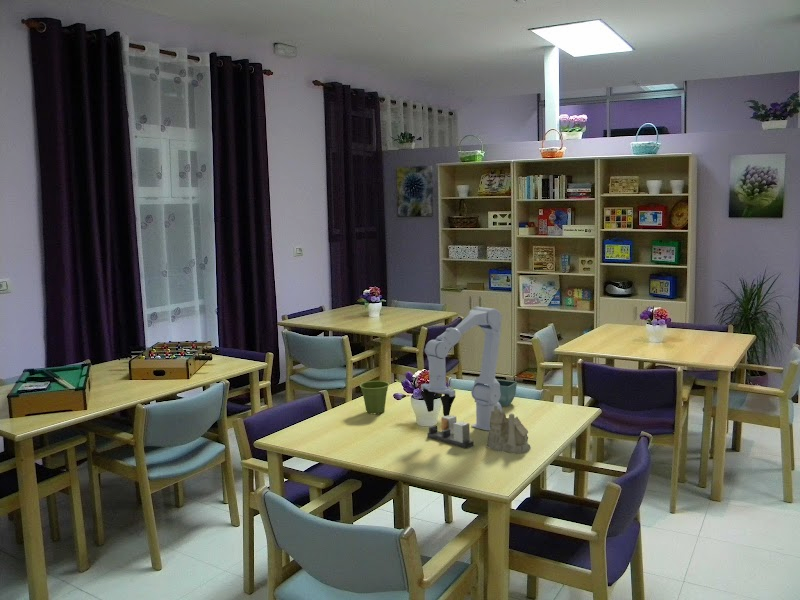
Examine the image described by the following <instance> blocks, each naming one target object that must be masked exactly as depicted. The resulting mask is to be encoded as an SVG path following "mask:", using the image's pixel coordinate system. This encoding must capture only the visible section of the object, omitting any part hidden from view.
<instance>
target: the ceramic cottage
mask: <svg viewBox="0 0 800 600" xmlns="http://www.w3.org/2000/svg"><path fill="white" fill-rule="evenodd" d="M528 433H529V431H528V428H526V427H525V426H524V424H523V423H522V421H520V419H519V417H518V416H515V414H514V413H512V412H511V413H509V415H508V417H507V416H506V413H505V411H502V412H501V411H500V409H499V408H497V405H495V406H494V411H491V417H490V430H488V435H487V441H486V447H487V448H488V449H489V450H493V451H495V452H502V453H506V454H507V453H508V454H514V455H522V454H526V453H528V452H530V450H531V445H530V444H529V443H528V441H529V436H528Z"/></svg>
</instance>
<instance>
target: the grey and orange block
mask: <svg viewBox="0 0 800 600" xmlns="http://www.w3.org/2000/svg"><path fill="white" fill-rule="evenodd" d="M440 421H441V422H440V423H441V425H440V426H441V432H442V431H444V430H447V429H450V435H454V433H453V424H454V423H457V416H455V415H452V414H449V415H448V416H444V415H443V416H441V420H440Z"/></svg>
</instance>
